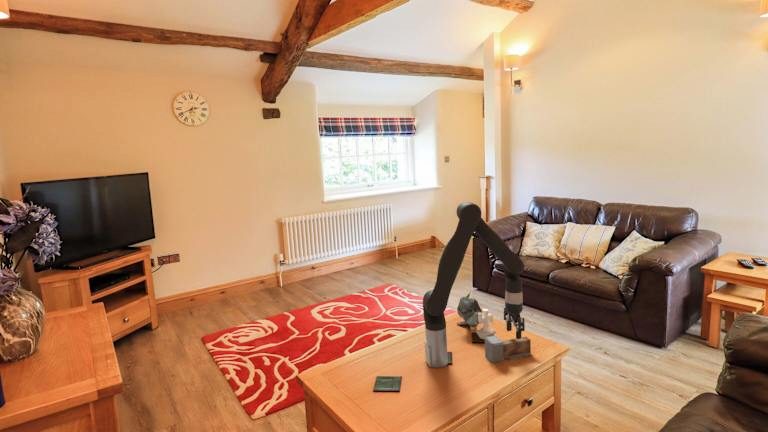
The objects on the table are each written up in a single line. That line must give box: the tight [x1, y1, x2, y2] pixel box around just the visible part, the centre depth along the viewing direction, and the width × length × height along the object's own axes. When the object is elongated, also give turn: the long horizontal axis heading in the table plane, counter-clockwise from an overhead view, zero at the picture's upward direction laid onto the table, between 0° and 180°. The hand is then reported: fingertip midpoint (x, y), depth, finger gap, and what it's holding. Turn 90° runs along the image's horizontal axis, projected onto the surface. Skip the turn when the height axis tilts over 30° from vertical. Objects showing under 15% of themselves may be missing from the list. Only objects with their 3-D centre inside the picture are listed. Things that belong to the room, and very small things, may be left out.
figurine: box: [475, 307, 497, 341], centre depth 212 cm, size 7×9×15 cm
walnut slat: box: [501, 336, 532, 360], centre depth 194 cm, size 14×3×7 cm, turn 102°
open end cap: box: [508, 352, 531, 361], centre depth 195 cm, size 10×7×2 cm
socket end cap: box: [484, 335, 505, 364], centre depth 192 cm, size 6×7×9 cm
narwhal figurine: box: [456, 291, 482, 333], centre depth 223 cm, size 14×15×18 cm
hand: (513, 334), depth 193 cm, fingers open, 8 cm apart
